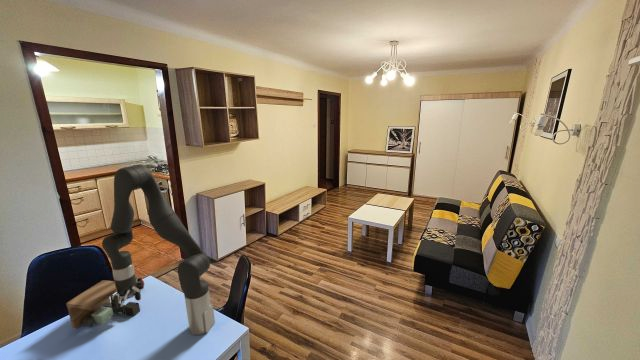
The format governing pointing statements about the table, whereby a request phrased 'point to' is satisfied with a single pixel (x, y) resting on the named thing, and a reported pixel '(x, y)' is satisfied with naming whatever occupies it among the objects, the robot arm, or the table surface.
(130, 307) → the mallet
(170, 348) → the table surface
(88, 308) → the walnut shelf
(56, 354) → the table surface
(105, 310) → the block
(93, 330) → the table surface
